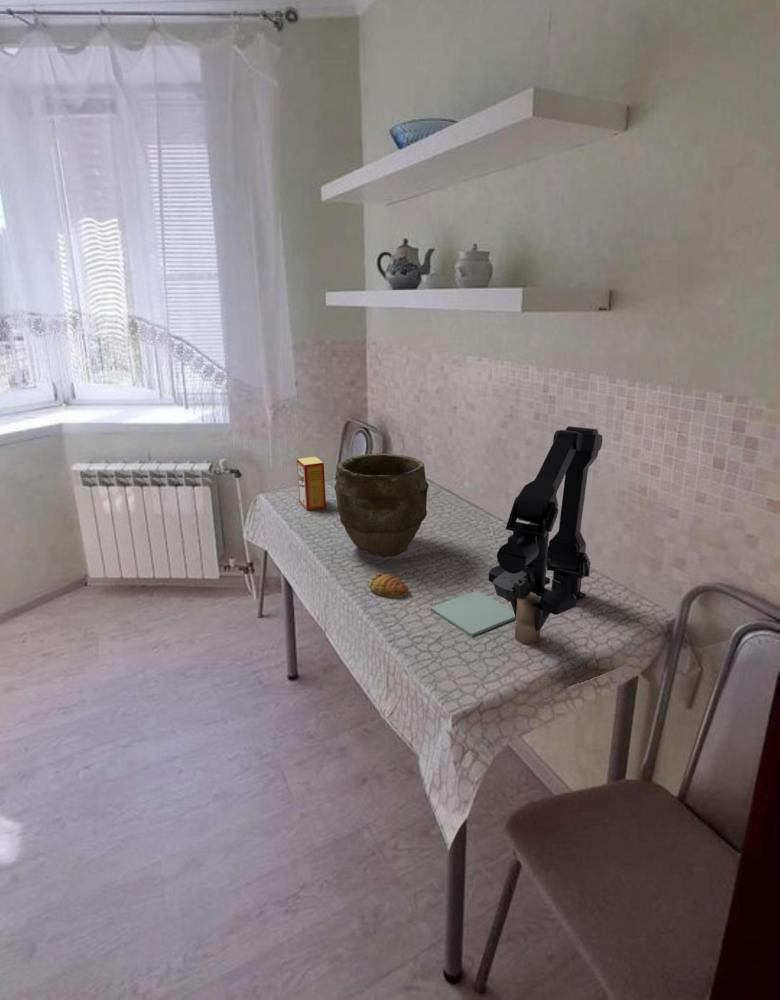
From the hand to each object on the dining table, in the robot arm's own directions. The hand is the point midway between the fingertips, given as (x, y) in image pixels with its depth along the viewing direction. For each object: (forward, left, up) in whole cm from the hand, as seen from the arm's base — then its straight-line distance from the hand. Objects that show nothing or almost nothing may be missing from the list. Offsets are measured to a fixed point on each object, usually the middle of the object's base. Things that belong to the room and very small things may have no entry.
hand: (528, 624), depth 126 cm
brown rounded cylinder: (0, 0, -3) cm, 3 cm away
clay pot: (-2, -57, -3) cm, 57 cm away
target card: (+2, -14, -3) cm, 14 cm away
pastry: (+11, -35, -4) cm, 37 cm away
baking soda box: (-3, -102, -3) cm, 102 cm away
